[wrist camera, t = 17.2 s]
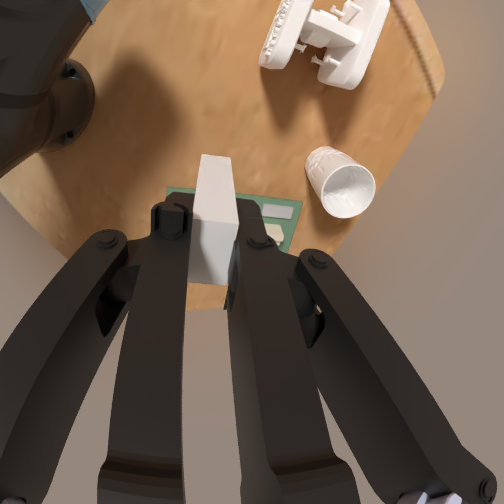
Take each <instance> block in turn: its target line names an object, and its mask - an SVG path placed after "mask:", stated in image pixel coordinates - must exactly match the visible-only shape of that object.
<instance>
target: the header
mask: <svg viewBox="0 0 504 504" xmlns="http://www.w3.org/2000/svg"><path fill="white" fill-rule="evenodd" d="M264 225H265V228H266V232H267V235H269V236H270V237H272V238H273V239H274V240H275V242H276V243H277V245H280V241H282V242H283V239H284V235H283V232H282V229H281V226H280V225H276V224H267V223H264Z"/></svg>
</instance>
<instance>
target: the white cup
mask: <svg viewBox="0 0 504 504" xmlns="http://www.w3.org/2000/svg"><path fill="white" fill-rule="evenodd" d="M305 171H306V174H307V177H308V179H309V181H310V183H311V185H312V187H313V189H314V191H315V192H316V194H317V196H318V198H319V199H320V201H321V203H322V205H323V207H324V208H325V210H326V211H327V212H328V213H329V214H331V215H332V216H334V217H337V218H351V217H354V216H356V215H358V214H360V213H361V212H363V211H364V210H365V209H366V208H367V207H368V206H369V205H370V203H371V201H372V199H373V197H374V194H375V181H374V178H373V176H372V174H371V173H370V171H369V170H368V169H366V168H365V167H363V166H362V165H361V164H359V163H358V162H356V161H355V160H354V159H352V158H351V157H349V156H348V155H346V154H344V153H343V152H340V151H339V150H337V149H335V148H333V147H330V146H325V147H319V148H317V149H315V150H313V151H312V152H311V153H310V155H309V156H308V157H307V159H306V164H305Z"/></svg>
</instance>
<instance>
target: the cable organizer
mask: <svg viewBox="0 0 504 504" xmlns="http://www.w3.org/2000/svg"><path fill="white" fill-rule="evenodd" d="M313 2H314V0H281V3H280V5H279V7H278V10H277V12H276V15H275V17H274V20H273V22H272V25H271V27H270V30H269V32H268V35H267V37H266V40H265V42H264V45H263V48H262V50H261V53H260V57H259V62H258V65H259V66H261V67H265V68H268V69H283V68H284V67H285V66H286V65H287V63H288V61H289V60H290V58H291V56H292V53H293V51H294V50H295V49H298V50H301V51H300V53H301V52H302V53H303V52H304V49H305V48H306V46H307V45H305V44H304V45H303V46H302V45H300V44H297V41H298V38H299V36H300V40H301V41H302V42H304V43H307V44H310V45H313V46H315V47H318V48H322V47H324V46H325V47H327V50H326V52H325V55H324V58H323V60H322V61H321V60H319V59H317V57H315V56H316V54H315V55H314V57H311V58H312V61H311V63H312V62H313V63H314V62H315V63H317V64H319V65H320V68H319V71H318V77H317V78H318V81H320V82H322V83H324V84H327V85H331V86H335V87H340V88H344V89H348V90H352V89H354V88H355V87H357V85H358V84H359V83H360V81H361V80H362V78H363V76H364V74H365V71H366V69H367V66H368V63H369V61H370V58H371V56H372V53H373V51H374V48H375V45H376V43H377V40H378V38H379V35H380V32H381V30H382V27H383V24H384V22H385V19H386V16H387V13H388V11H389V7H390V2H389V0H355V1H353V2H352V1H350V0H347V2H346V3H345V4H344V7H343V10H342V12H340V11H338V10H336V9H335V7H336V6H335V7H334V6H333V7H332V8H331V9H330V13H331V12H333V13H335V14H337V15H339V16H340V17H339V20H338V19H337V17H336V16H334V15H331V14H329V13H327V12H325V11H323V10H320V9H315V10H313V9H311V6H312V4H313ZM300 53H299V54H300Z"/></svg>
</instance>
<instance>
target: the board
mask: <svg viewBox="0 0 504 504" xmlns="http://www.w3.org/2000/svg"><path fill="white" fill-rule="evenodd" d="M172 192H183V193H193V194H195V192H196V189H186V188H174V187H167V196H168V195H169V194H171V193H172ZM235 198H242V199H250V200H254V201H255V202H256V203H257V204H258V205H259V207H260V210H261V214H262V219H263V221H264V223H267V224H276V225H280V226H281V229H282V232H283V235H284V239H283V242H282V241H280V245H277V246H278V249H279V250H280V251H282V252H285V253H287V252H288V249H289V246H290V243H291V240H292V236H293V233H294V230H295V227H296V223H297V220H298V217H299V214H300V210H301V207H302V204H303V203H302V202H300V201H293V200H286V199H278V198H271V197H263V196H255V195H246V194H238V193H235Z"/></svg>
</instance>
